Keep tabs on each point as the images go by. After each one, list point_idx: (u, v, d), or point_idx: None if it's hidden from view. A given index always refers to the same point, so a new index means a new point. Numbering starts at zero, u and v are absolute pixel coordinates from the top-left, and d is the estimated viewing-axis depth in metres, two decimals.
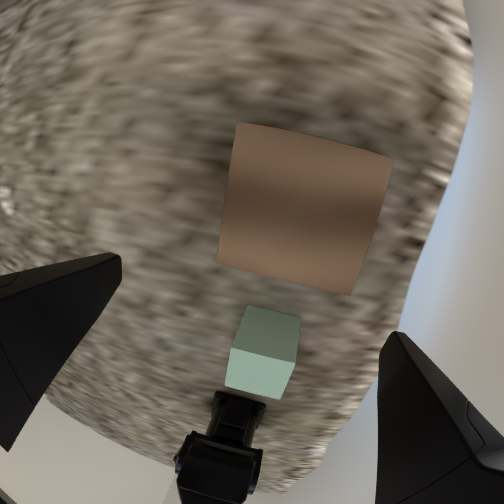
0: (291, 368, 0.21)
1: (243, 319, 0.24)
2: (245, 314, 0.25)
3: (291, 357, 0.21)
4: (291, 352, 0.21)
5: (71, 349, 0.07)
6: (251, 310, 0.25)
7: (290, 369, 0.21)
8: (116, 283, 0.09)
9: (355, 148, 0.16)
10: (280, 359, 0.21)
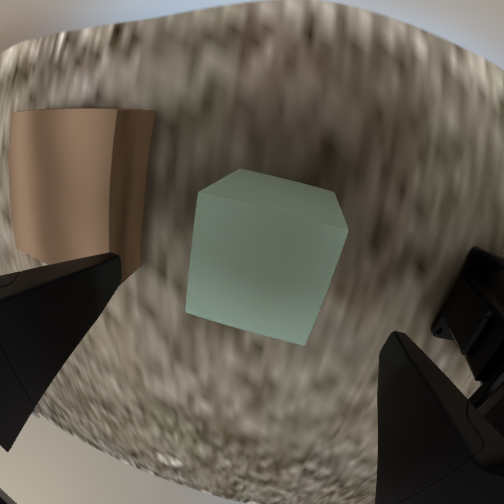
0: (216, 200, 0.09)
1: None
2: None
3: None
4: None
5: (71, 350, 0.07)
6: None
7: (219, 202, 0.09)
8: (116, 283, 0.09)
9: (9, 149, 0.13)
10: (194, 224, 0.10)
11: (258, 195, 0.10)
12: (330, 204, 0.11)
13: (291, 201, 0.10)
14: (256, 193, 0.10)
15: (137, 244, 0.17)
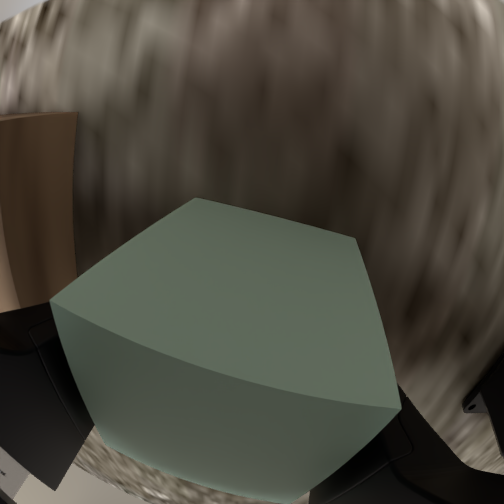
0: (81, 324, 0.03)
1: None
2: None
3: None
4: None
5: None
6: None
7: (88, 330, 0.03)
8: None
9: None
10: (68, 351, 0.04)
11: (191, 293, 0.04)
12: (354, 289, 0.05)
13: (270, 303, 0.04)
14: (189, 284, 0.05)
15: None
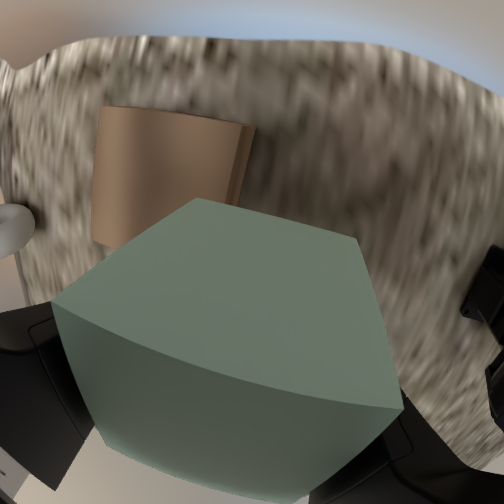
0: (83, 325, 0.03)
1: None
2: None
3: None
4: None
5: None
6: None
7: (90, 331, 0.03)
8: None
9: (96, 142, 0.16)
10: (69, 352, 0.04)
11: (193, 294, 0.04)
12: (356, 289, 0.05)
13: (272, 304, 0.04)
14: (191, 285, 0.05)
15: None
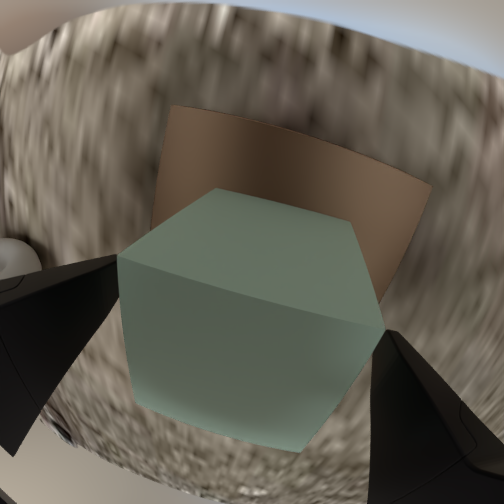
0: (145, 271, 0.05)
1: None
2: None
3: None
4: None
5: (77, 353, 0.07)
6: None
7: (151, 276, 0.05)
8: None
9: (160, 169, 0.10)
10: (122, 303, 0.06)
11: (227, 251, 0.06)
12: (349, 255, 0.07)
13: (285, 260, 0.06)
14: (224, 246, 0.06)
15: None
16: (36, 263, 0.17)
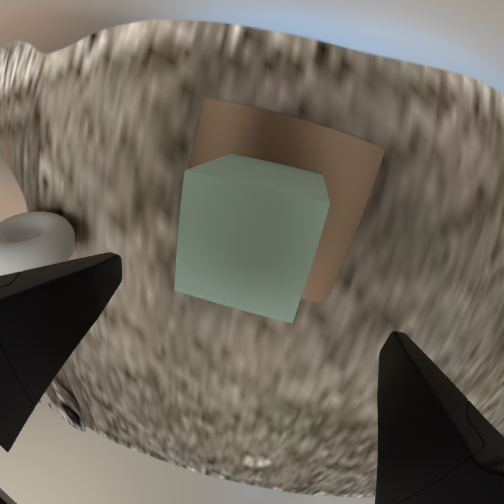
0: (201, 177, 0.09)
1: None
2: None
3: None
4: None
5: (71, 349, 0.07)
6: None
7: (204, 179, 0.09)
8: (116, 283, 0.09)
9: (195, 141, 0.15)
10: (181, 202, 0.10)
11: (243, 174, 0.10)
12: (316, 183, 0.11)
13: (276, 179, 0.11)
14: (241, 172, 0.11)
15: None
16: (71, 230, 0.22)
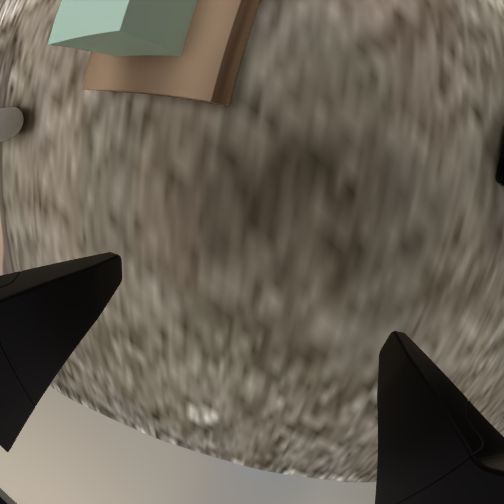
0: None
1: (92, 49, 0.11)
2: (100, 51, 0.12)
3: None
4: None
5: (71, 350, 0.07)
6: None
7: None
8: (116, 283, 0.09)
9: None
10: None
11: None
12: None
13: None
14: None
15: (233, 80, 0.16)
16: (20, 113, 0.18)
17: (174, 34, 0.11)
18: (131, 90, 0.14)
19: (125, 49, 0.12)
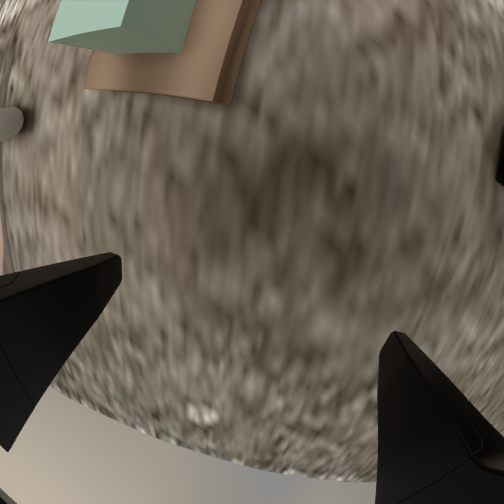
0: None
1: (92, 47, 0.11)
2: (100, 49, 0.12)
3: None
4: None
5: (72, 350, 0.07)
6: None
7: None
8: (116, 283, 0.09)
9: None
10: None
11: None
12: None
13: None
14: None
15: (234, 80, 0.16)
16: (20, 113, 0.18)
17: (174, 31, 0.11)
18: (132, 90, 0.14)
19: (125, 46, 0.11)
